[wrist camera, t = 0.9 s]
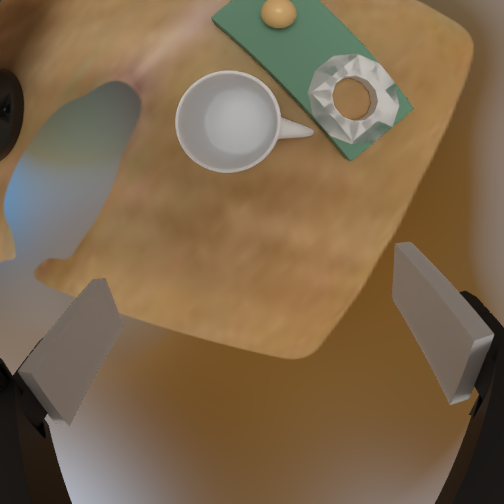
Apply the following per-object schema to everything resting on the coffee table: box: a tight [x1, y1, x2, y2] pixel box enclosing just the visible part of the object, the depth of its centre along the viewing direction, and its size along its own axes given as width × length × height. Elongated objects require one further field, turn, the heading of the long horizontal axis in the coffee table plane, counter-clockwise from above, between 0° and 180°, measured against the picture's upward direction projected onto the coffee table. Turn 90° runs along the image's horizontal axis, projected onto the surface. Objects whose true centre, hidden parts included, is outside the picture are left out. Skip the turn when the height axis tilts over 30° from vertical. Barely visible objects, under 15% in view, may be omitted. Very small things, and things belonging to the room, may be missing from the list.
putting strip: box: [211, 0, 414, 161], centre depth 29 cm, size 22×10×2 cm, turn 43°
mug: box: [175, 70, 314, 173], centre depth 29 cm, size 9×12×11 cm
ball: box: [261, 0, 297, 28], centre depth 25 cm, size 4×4×4 cm
